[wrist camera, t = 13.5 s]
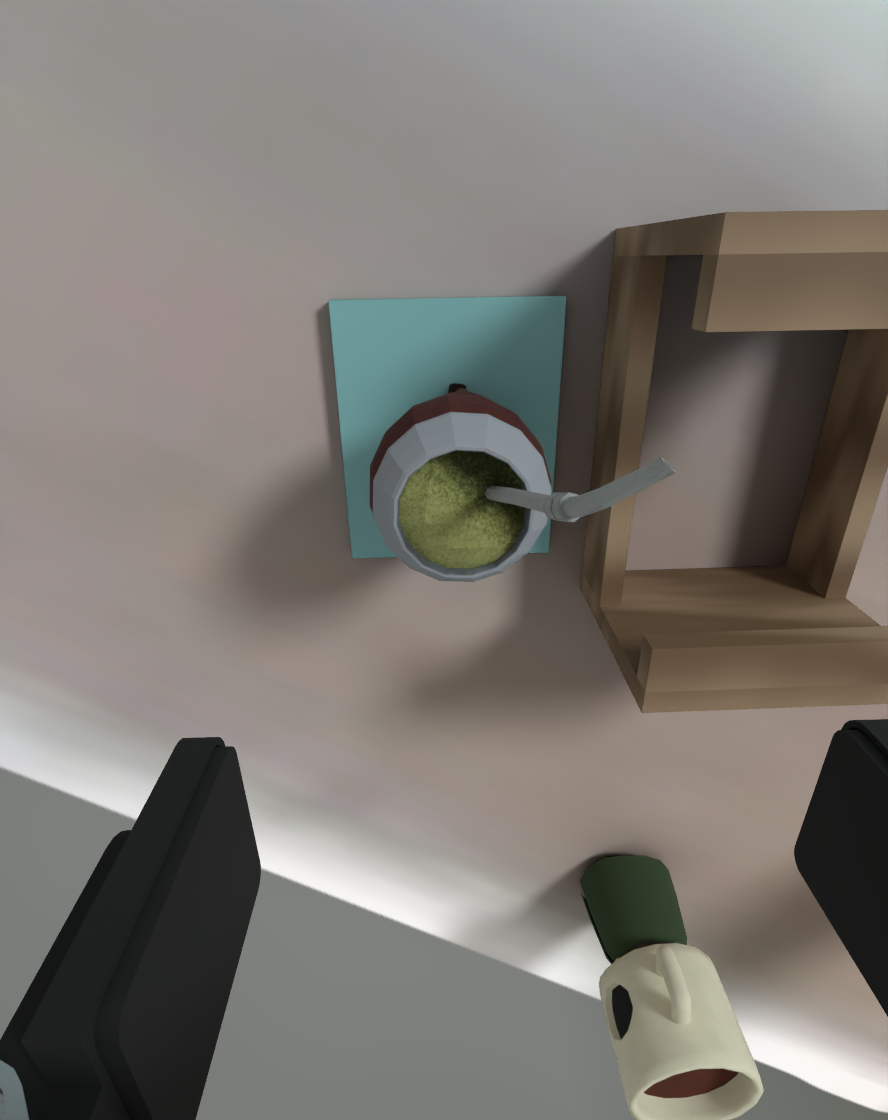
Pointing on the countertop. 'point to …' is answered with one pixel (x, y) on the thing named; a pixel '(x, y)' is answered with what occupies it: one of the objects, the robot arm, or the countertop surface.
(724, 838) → the countertop surface
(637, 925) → the character mug
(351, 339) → the teal mat
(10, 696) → the countertop surface
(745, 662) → the walnut box
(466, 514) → the mate gourd
